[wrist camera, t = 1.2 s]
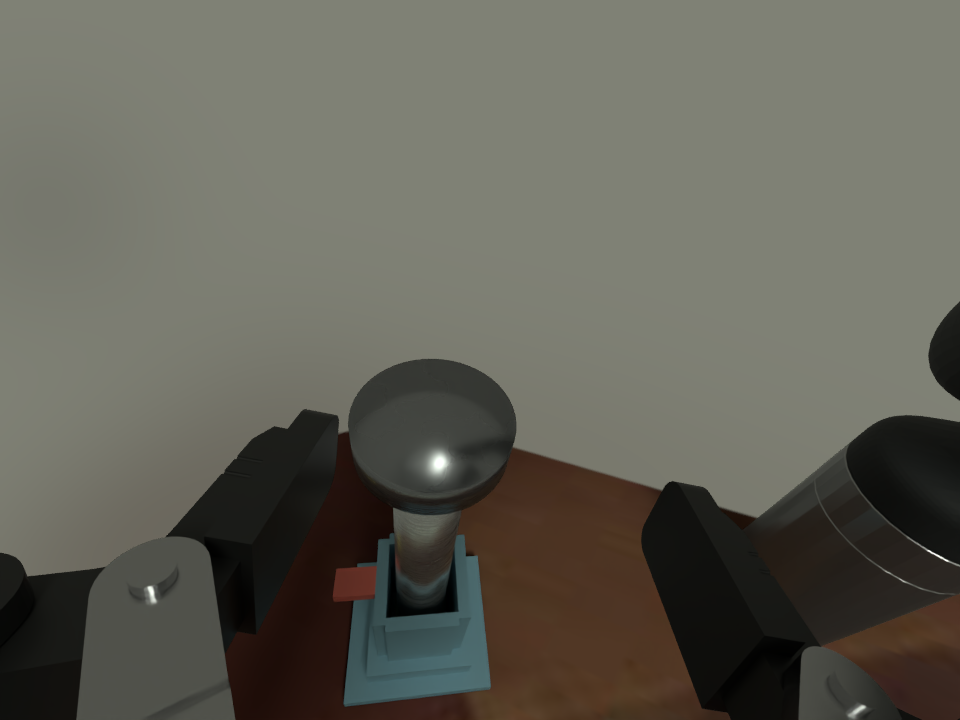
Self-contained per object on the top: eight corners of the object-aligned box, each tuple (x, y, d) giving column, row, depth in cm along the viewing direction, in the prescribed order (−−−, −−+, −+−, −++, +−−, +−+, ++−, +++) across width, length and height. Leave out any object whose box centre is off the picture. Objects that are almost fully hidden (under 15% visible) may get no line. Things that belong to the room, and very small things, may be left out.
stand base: (476, 560, 36) (492, 504, 29) (488, 689, 30) (513, 655, 23) (355, 568, 35) (344, 511, 28) (341, 707, 28) (322, 675, 21)
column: (455, 575, 34) (503, 360, 18) (461, 663, 30) (530, 487, 13) (381, 580, 33) (357, 357, 17) (375, 672, 29) (336, 494, 12)
